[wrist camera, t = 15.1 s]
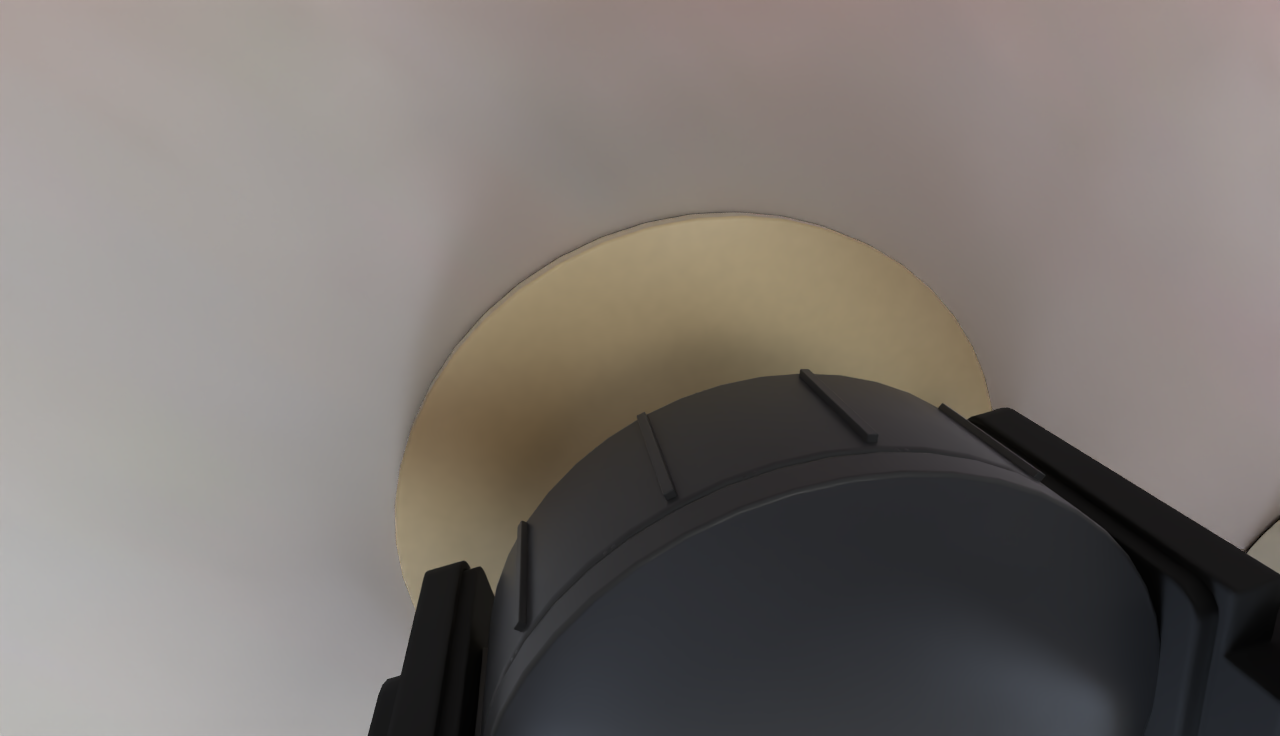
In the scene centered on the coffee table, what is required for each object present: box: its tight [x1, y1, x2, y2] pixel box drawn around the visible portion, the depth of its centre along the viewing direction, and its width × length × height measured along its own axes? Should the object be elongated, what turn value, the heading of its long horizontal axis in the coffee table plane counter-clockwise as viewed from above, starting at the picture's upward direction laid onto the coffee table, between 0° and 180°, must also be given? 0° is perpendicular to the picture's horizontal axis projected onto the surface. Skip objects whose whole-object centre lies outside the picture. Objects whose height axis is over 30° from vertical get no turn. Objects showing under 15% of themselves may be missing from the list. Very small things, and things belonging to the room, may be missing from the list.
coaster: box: [395, 212, 992, 610], centre depth 11 cm, size 10×10×1 cm
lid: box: [474, 369, 1160, 736], centre depth 8 cm, size 7×7×2 cm
